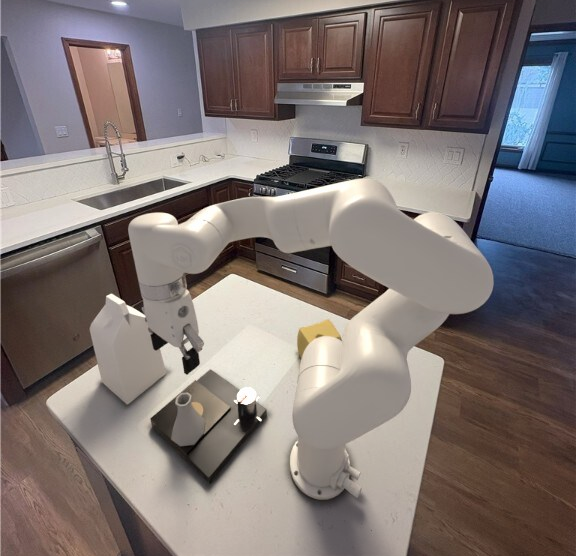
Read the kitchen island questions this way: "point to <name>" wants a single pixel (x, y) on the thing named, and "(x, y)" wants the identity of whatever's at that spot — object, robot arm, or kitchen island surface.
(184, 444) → the flask
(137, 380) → the milk
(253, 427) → the hob
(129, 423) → the kitchen island surface
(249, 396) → the hob knob
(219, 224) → the robot arm
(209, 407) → the burner
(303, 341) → the cheese
